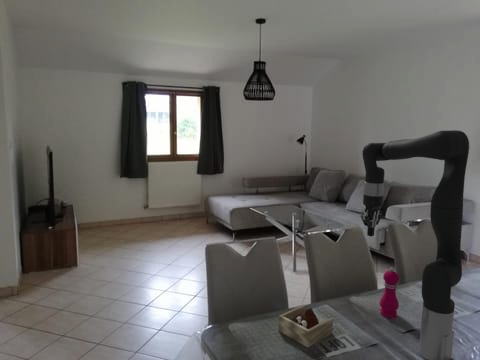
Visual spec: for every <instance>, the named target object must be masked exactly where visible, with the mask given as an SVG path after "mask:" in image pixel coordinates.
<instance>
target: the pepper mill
mask: <svg viewBox="0 0 480 360" xmlns="http://www.w3.org/2000/svg"><path fill="white" fill-rule="evenodd" d="M382 279H383V281H384V282H383V286H384V287H385V288H384V293H383V294H382V295H381V298H380V300H379V306H380V311H379V313H380V315H381V316H382V317H384V318H386V319H387V318H388V319H394V318H395V319H396V317H397V316H398V315H397V314H398V312H397V310H399V306H400V304H399V300H398V297H397V294H396V291H397V288H398V283H399V281H400V274H399V273H398V272H396V271H395V268H394V267H389V270H387V271H385V272H384V274H383V278H382Z"/></svg>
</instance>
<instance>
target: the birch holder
mask: <svg viewBox="0 0 480 360" xmlns="http://www.w3.org/2000/svg"><path fill="white" fill-rule="evenodd" d="M305 310H306V305H305V304H302V305H299V306H297V307H295V308H293V309H290V310H288V311H286V312H285V313H281V314H279V316H278V331H279V332H280V333H281V334H283V335H285V336H287V337H289V338H290V339H292V340H294V341H296V342H298V343H299V344H300V345H303V346H304V347H306V348H310V347H312V346H313V345H315V344H317V343H318V342H320V341H322V340H323V339H326V338H327V337H329V336H330V335H332V334H333V328H334V327H333V326H334V318H333V317H328V318H327V319H325V320H323V321H321V322H319V324H317V325H316V326H314V327H312V328H310V329H306V328H305V327H303V326H301V325H299V324H297V322H296V319H297V317H300V316H301V315H302V314H303V313H304V312H305Z"/></svg>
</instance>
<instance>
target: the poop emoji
mask: <svg viewBox="0 0 480 360" xmlns="http://www.w3.org/2000/svg"><path fill="white" fill-rule="evenodd" d="M296 322H297V324H299V325H301V326H303V327H305V328H306V329H310V328H312V327H314V326H316V325H317V324H319V323H320V322H319V318H318V317H317V315H316V314H315V311H314V310H313V308H311V307H309V308H305V312H304V313H303V314H302V315H301V316H300V317H297V319H296Z"/></svg>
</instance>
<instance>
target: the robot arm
mask: <svg viewBox="0 0 480 360" xmlns="http://www.w3.org/2000/svg"><path fill="white" fill-rule="evenodd" d="M469 151H470V140H469V136H468V135H467V134H466V133H465V132H464V131H462V130H456V129H455V130H440V131H439V130H438V131H436V132H433V133H430V134H427V135H424V136H421V137H417V138H411V139H410V138H409V139H398V140H390V141H387V142H369V143H367V144H365V145H364V147H363V149H362V154H361V155H362V161H363V165H364V169H365V178H364V185H363V197H362V199H363V200H362V204H363V205H364V206H365V208H364V213H363V214H361V215H360V218H361V221H362V223H363V225H364V226H365V227H367V232H366V233H367V234H366V235H367V237H370V238H371V237H374V236H375V229H376V226H378V225H379V223H380V221H381V219H382V216H383V215H384V214H383V213H384V211H381V209H380V208H381V207H383V206H384V197H385V196H384V195H385V193H384V192H385V184H384V183H385V169H384V168H383V167H380V166H378V164H377V162H381V161H382V162H384V161H385V162H386V161H396V160H397V161H399V160H407V159H413V158H426V159H433V160H439V161H444V166H443V172H442V177H441V179H440V181H439V183H438V184H437V187H436V189H435V191H434V192H433V194H432V198H431V200H430V212H429V213H430V214H429V215H430V224H431V227H432V230H433V233H434V236H435V238H436V243H437V244H436V245H437V247H436V257H435V260H434V261H431V262H430V263H428V264H426V265H425V267H424V269H423V270H422V271H423V272H422V277H421V278H422V279H421V298H422V300H423V302H422V312H421V313H422V314H421V321H420V322H421V325H420V332H419V333H420V334H419V344H418V353H419V355H420V356H421V357H422V358H424V359H426V360H451V358H452V354H453V346H454V337H455V331H454V330H453V327H454V326H453V323H454V315H455V307H456V306H455V305H456V304H455V302H454V300H453V299H452V298H451V295H452V294H451V293H452V288H453V287H456V286H457V285H458V284H459V283H460V281H462V276H463V266H462V265H463V264H462V254H461V253H462V251H461V250H462V249H461V246H462V244H461V243H462V232H463V231H462V228H463V227H462V226H463V219H464V218H463V217H464V216H463V215H464V213H463V211H464V192H465V180H466V179H465V178H466V173H467V171H466V170H467V165H468V159H469Z"/></svg>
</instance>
